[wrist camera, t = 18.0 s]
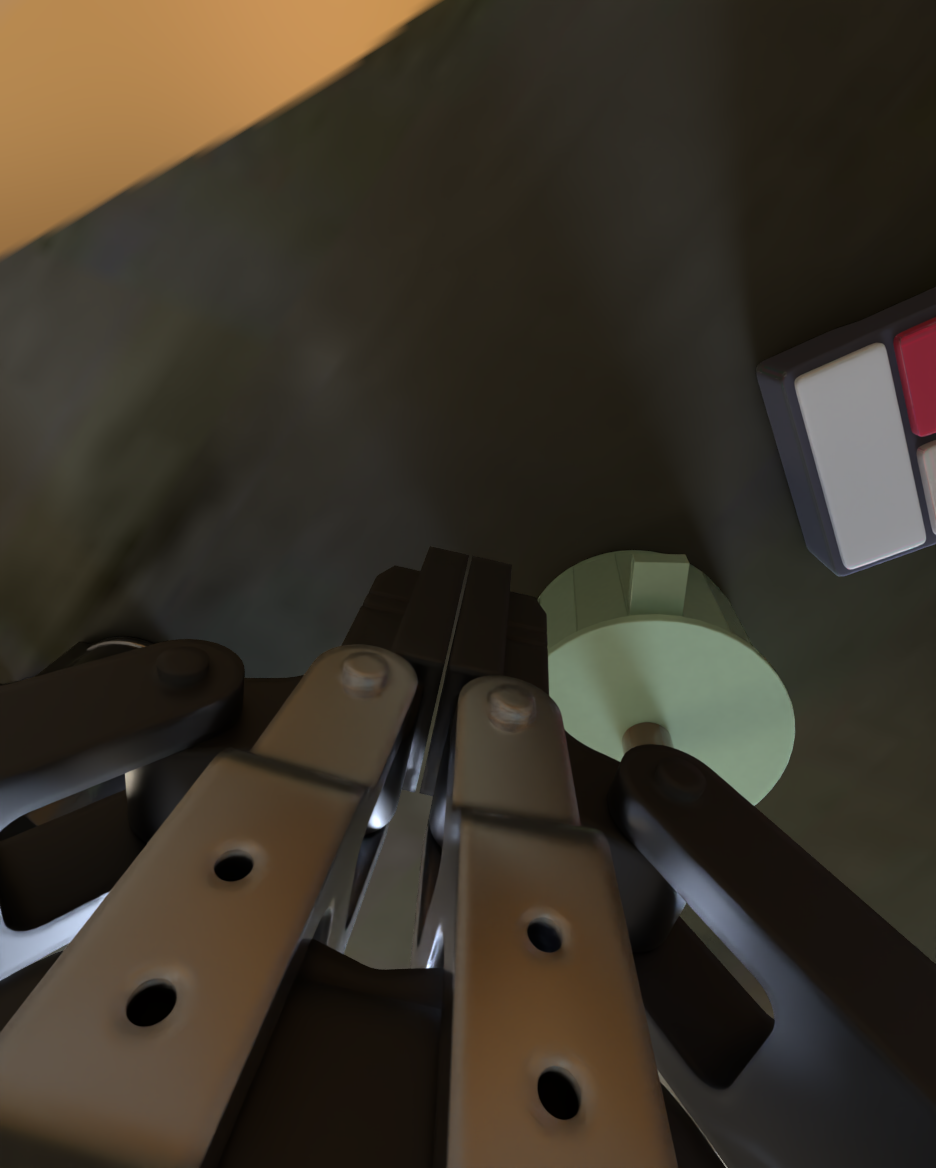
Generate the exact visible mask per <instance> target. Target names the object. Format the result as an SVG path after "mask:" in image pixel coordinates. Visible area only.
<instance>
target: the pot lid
mask: <svg viewBox="0 0 936 1168" xmlns="http://www.w3.org/2000/svg"><path fill="white" fill-rule="evenodd" d="M548 672H549V696H550V697H551V698H552V699H553V700H554V701H555V703H556V704H557V705H558V707H559V709H560V711H561V714H562V718H563V724H564V729H565V730H566V731H567V732H568V733H569V734H570V735H571V736H573V737H574V738H575V739H576V740H578V741H580V742H581V743H583V744H584V745H586V746H588V747H590V748H592V749H594V750H596V751H598V752H600V753H602V754H605V755H607V756H609V757H611V758H613V759H615V760H617V761H620V762H621V760H622V758H623V756H624V754H625V753H626V752H627V751H628V750H630V749H632V748H634V747H636V746H640V745H645V744H656V745H663V746H668V747H672V748H675V749H678V750H680V751H683V752H685V753H687V754H689V755H691V756H693V757H695V758H697V759H698V760H700V761H701V762H703V763H704V764H706V765H707V766H708V767H709V768H711V769H712V770H713V771H714V772H715V773H717V774H718V775H719V776H720V777H721V778H722V779H724V780H725V781H726V782H727V783H728V784H729V785H730V786H732V787H733V788H734V789H735V790H736V791H737V792H738V793H740V794H741V795H742V796H743V797H744V798H745V799H746V800H748V801H749V802H750V803H751V804H752V805H753V806H754V805H756V804H757V803H758V802H759V801H761V800H762V799H763V797H764V796H765V795H766V794H767V793H768V792H769V791H770V790H771V789H772V788H773V786H774V785H775V784H776V782H777V781H778V780H779V778H780V777H781V775H782V773H783V771H784V769H785V767H786V766H787V764H788V761H789V758H790V755H791V752H792V749H793V743H794V737H795V717H794V712H793V707H792V702H791V700H790V697H789V695H788V692H787V689H786V687H785V686H784V684H783V682H782V680H781V679H780V677H779V675H778V674H777V672H776V670H775V669H774V668H773V666H772V665H771V664H770V663H769V662H768V661H767V659H766V658H765V657H764V656H763V655H762V654H761V653H760V652H759V651H757V650H756V649H755V648H754V647H753V646H752V645H751V644H749V643H747V642H746V641H744V640H743V639H741V638H740V637H738V636H737V635H735V634H733V633H731V632H729V631H727V630H725V629H723V628H721V627H718V626H716V625H713V624H710V623H707V622H704V621H701V620H697V619H692V618H687V617H682V616H675V615H664V614H641V615H632V616H625V617H618V618H614V619H610V620H606V621H602V622H599V623H596V624H593V625H591V626H588V627H585V628H583V629H581V630H579V631H577V632H575V633H573V634H571V635H569V636H567V637H565V638H564V639H562V640H561V641H559V642H558V643H556V644H555V645H554V646H552V647H551V648H550V649H548Z"/></svg>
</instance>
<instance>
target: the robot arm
mask: <svg viewBox="0 0 936 1168" xmlns="http://www.w3.org/2000/svg"><path fill="white" fill-rule="evenodd" d="M468 558H469V555H466V554H462V553H458V552H453V551H449V550H444V549H440V548H436V547H431V546H430V547H429V550H428V553H427V555H426V558H425V561H424V563H423V566H422V569H421V571H417V570H413V569H408V568H404V567H399V566H394V567H392V568H390V569H388V570H386V571H385V572H383V573H381V574H379V575H378V576H377V577H376V579H375V581H374V583H373V585H372V587H371V589H370V591H369V594H368V595H367V597H366V598H365V600H364V602H363V606H361V608H360V610H359V612H358V614H357V616H356V618H355V620H354V622H353V624H352V626H351V628H350V630H349V632H348V634H347V636H346V638H345V640H344V642H343V643H342V645H341V646H339V647H336V648H332V649H330V650H328V651H326V652H324V653H322V654H321V655H320V656H318V657H317V658H316V660H315V661H314V662H313V663H312V665H311V666H310V668H309V669H308V670H307V672H306V673H305V675H302V676H297V677H290V678H244V677H245V669H244V665H243V662H242V660H241V659H240V658H239V656H238V655H237V654H236V653H234V652H233V651H232V650H230V649H228V648H227V647H225V646H222V645H220V644H217V643H213V642H209V641H204V640H195V639H179V640H170V641H165V642H160V643H156V644H153V643H151V642H148V641H145V640H142V639H138V638H133V637H122V636H121V637H110V638H106V639H103V640H100V641H98V642H96V643H94V644H89V643H85V642H78V643H77V644H76V645H74V646H73V647H72V648H71V649H69V650H68V651H67V652H66V653H64V654H63V655H62V656H60V657H59V658H58V659H57V660H55V661H54V662H53V663H51V664H50V665H49V666H48V667H46V668H45V669H44V670H43V671H41V672H40V673H39V674H37V675H36V676H35V677H33V678H29V679H25V680H22V681H18V682H14V683H11V684H7V685H0V980H1V981H0V1168H726V1167H725V1166H724V1164H723V1163H722V1161H721V1160H720V1158H719V1157H718V1156H717V1154H716V1153H715V1151H714V1150H713V1148H714V1149H715V1150H716V1152H717V1153H718V1155H719V1156H720V1157H721V1159H722V1160H723V1162H724V1163H725V1164H726V1166H727V1167H728V1168H936V964H935V963H934V962H933V961H931V960H930V959H929V958H928V957H927V956H926V955H924V954H923V953H922V952H921V951H920V950H919V949H918V948H916V947H915V946H914V945H913V944H912V943H911V942H910V941H908V940H907V939H906V938H905V937H904V936H903V935H902V934H900V933H899V932H898V931H897V930H896V929H895V928H893V927H892V926H891V925H890V924H889V923H888V922H887V921H885V920H884V919H883V918H882V917H881V916H880V915H879V914H877V913H876V912H875V911H874V910H873V909H872V908H871V907H869V906H868V905H867V904H866V903H865V902H864V901H862V900H861V899H860V898H859V897H858V896H857V895H856V894H854V893H853V892H852V891H851V890H850V889H849V888H848V887H846V886H845V885H844V884H843V883H842V882H841V881H840V880H838V879H837V878H836V877H835V876H834V875H833V874H831V873H830V872H829V871H828V870H827V869H826V868H825V867H823V866H822V865H821V864H820V863H819V862H818V861H817V860H815V859H814V858H813V857H812V856H811V855H810V854H809V853H807V852H806V851H805V850H804V849H803V848H802V847H800V846H799V845H798V844H797V843H796V842H795V841H794V840H792V839H791V838H790V837H789V836H788V835H787V834H786V833H784V832H783V831H782V830H781V829H780V828H779V827H777V826H776V825H775V824H774V823H773V822H772V821H771V820H769V819H768V818H767V817H766V816H765V815H764V814H763V813H761V812H760V811H759V810H758V809H757V808H756V807H755V806H753V805H752V804H751V803H750V802H749V801H748V800H746V799H745V798H744V797H743V796H742V795H741V794H740V793H738V792H737V791H736V790H735V789H734V788H733V787H732V786H730V785H729V784H728V783H727V782H726V781H725V780H724V779H722V778H721V777H720V776H719V775H718V774H717V773H715V772H714V771H713V770H712V769H711V768H709V767H708V766H707V765H706V764H704V763H703V762H701V761H700V760H698V759H697V758H695V757H693V756H691V755H689V754H687V753H685V752H683V751H680V750H678V749H675V748H672V747H668V746H663V745H656V744H645V745H640V746H636V747H634V748H632V749H630V750H628V751H627V752H626V753H625V754H624V756H623V758H622V760H621V762H620V761H617V760H615V759H613V758H611V757H609V756H607V755H605V754H602V753H600V752H598V751H596V750H594V749H592V748H590V747H588V746H586V745H584V744H583V743H581V742H580V741H578V740H576V739H575V738H574V737H573V736H571V735H570V734H569V733H568V732H567V731H566V730H565V729H564V724H563V718H562V714H561V711H560V709H559V707H558V705H557V704H556V703H555V701H554V700H553V699H552V698H551V697H550V696H549V672H548V648H547V645H548V641H547V614H546V612H545V611H544V610H543V608H542V607H541V605H540V604H539V603H538V601H537V600H536V598H535V597H532V596H528V595H523V594H519V593H514V592H510V582H511V569H512V565H511V564H506V563H502V562H498V561H493V560H489V559H484V558H480V557H476V556H473V557H472V561H471V565H470V569H469V574H468V578H467V582H466V587H465V591H464V595H463V600H462V604H461V609H460V613H459V617H458V622H457V626H456V630H455V635H454V639H453V644H452V648H451V652H450V657H449V661H448V666H447V670H446V675H445V680H444V684H443V689H442V693H441V698H440V702H439V707H438V711H437V716H436V720H435V725H434V730H433V734H432V739H431V743H430V748H429V752H428V757H427V761H426V766H425V771H424V775H423V780H422V784H421V789H420V793H421V794H426V795H430V796H433V800H432V805H431V810H430V815H429V820H428V824H427V828H426V832H425V836H424V840H423V845H422V855H421V865H420V875H419V884H418V894H417V904H416V913H415V923H414V933H413V943H412V952H411V962H410V969H392V970H379V969H374V968H370V967H368V966H365V965H363V964H361V963H359V962H357V961H355V960H353V959H352V958H350V957H348V956H346V955H344V951H345V948H346V945H347V942H348V939H349V937H350V934H351V931H352V928H353V926H354V923H355V920H356V917H357V915H358V912H359V909H360V906H361V904H362V901H363V898H364V895H365V892H366V890H367V887H368V884H369V881H370V879H371V876H372V873H373V870H374V868H375V865H376V862H377V859H378V856H379V854H380V851H381V848H382V845H383V843H384V840H385V837H386V833H387V829H388V824H389V821H390V820H391V818H392V817H393V815H394V814H395V811H396V808H397V805H398V801H399V797H400V793H401V789H402V790H407V791H411V792H415V790H416V786H417V782H418V777H419V773H420V768H421V764H422V760H423V755H424V751H425V747H426V742H427V738H428V733H429V729H430V725H431V720H432V716H433V712H434V707H435V703H436V698H437V694H438V690H439V685H440V681H441V677H442V672H443V668H444V664H445V659H446V655H447V650H448V646H449V642H450V637H451V633H452V628H453V624H454V620H455V615H456V611H457V606H458V602H459V597H460V593H461V589H462V584H463V580H464V575H465V571H466V567H467V562H468ZM686 903H688V904H689V906H690V907H691V908H692V909H693V910H694V911H695V912H696V913H697V914H698V915H699V916H700V918H701V919H702V920H703V921H704V922H705V923H706V924H707V925H708V926H709V927H710V929H711V930H712V931H713V932H714V933H715V934H716V935H717V936H718V937H719V938H720V939H721V941H722V942H723V943H724V944H725V945H726V946H727V947H728V948H729V949H730V950H731V951H732V953H733V954H734V955H735V956H736V957H737V958H738V959H739V960H740V961H741V962H742V963H743V965H744V966H745V967H746V968H747V969H748V970H749V971H750V972H751V973H752V974H753V976H754V977H755V978H756V979H757V980H758V981H759V983H760V984H761V986H762V987H763V988H764V990H765V992H766V994H767V995H768V997H769V1000H770V1002H771V1005H772V1008H773V1011H774V1018H775V1020H774V1019H773V1018H771V1017H770V1016H769V1015H768V1014H766V1013H765V1011H764V1010H763V1009H762V1008H761V1007H760V1006H759V1005H758V1004H757V1003H756V1002H755V1001H754V999H753V998H752V997H751V996H750V995H749V994H748V993H747V992H746V990H745V989H744V988H743V987H742V986H741V985H740V984H739V983H738V981H737V980H736V979H735V978H734V977H733V976H732V975H731V974H730V972H729V971H728V970H727V969H726V968H725V967H724V966H723V965H722V963H721V962H720V961H719V960H718V959H717V958H716V957H715V956H714V954H713V953H712V952H711V951H710V950H709V949H708V948H707V947H706V945H705V944H704V943H703V942H702V941H701V940H700V939H699V938H698V936H697V935H696V934H695V933H694V932H693V931H692V930H691V929H690V927H689V926H688V925H687V924H686V923H685V922H684V921H683V920H682V918H681V917H680V916H679V915H680V913H681V911H682V910H683V908H684V906H685V904H686ZM69 942H70V943H69ZM68 943H69V945H68V946H67V947H66V949H65V950H64V951H61V952H58V953H55V954H53V955H51V956H48V957H46V958H44V959H42V960H40V961H38V962H35V961H37V960H39V959H40V958H42V957H44V956H46V955H48V954H49V953H51V952H53V951H55V950H57V949H59V948H60V947H62V946H64V945H66V944H68ZM33 962H35V963H33ZM31 963H33V964H31ZM29 964H31V965H29ZM28 965H29V966H28ZM26 966H27V967H26ZM24 967H25V968H24ZM20 969H21V970H20ZM18 970H19V971H18ZM9 975H10V976H9ZM658 1071H659V1073H660V1074H661V1075H662V1077H663V1078H664V1080H665V1081H666V1082H667V1084H668V1085H669V1086H670V1088H671V1089H672V1091H673V1092H674V1093H675V1095H676V1096H677V1098H678V1099H679V1100H680V1102H681V1103H682V1105H683V1106H684V1107H685V1109H686V1110H687V1112H688V1113H689V1114H690V1116H691V1117H692V1118H693V1120H694V1121H695V1123H696V1124H697V1125H698V1127H699V1128H700V1129H699V1128H698V1127H697V1125H696V1124H695V1123H694V1121H693V1120H692V1118H691V1117H690V1116H689V1114H688V1113H687V1112H686V1111H685V1110H684V1108H683V1107H682V1106H681V1105H680V1104H679V1102H678V1101H677V1100H676V1099H675V1098H674V1096H673V1095H672V1094H671V1093H670V1092H669V1090H668V1089H667V1088H666V1087H665V1086H664V1085H663V1084H662V1083H661V1082H660V1080H659V1075H658ZM700 1130H701V1131H702V1132H703V1134H704V1135H705V1136H704V1135H703V1134H702V1132H701V1131H700ZM705 1137H706V1138H707V1139H708V1141H709V1142H710V1143H711V1145H712V1146H713V1148H712V1147H711V1145H710V1144H709V1142H708V1141H707V1139H706V1138H705Z"/></svg>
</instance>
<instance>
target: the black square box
mask: <svg viewBox="0 0 936 1168" xmlns="http://www.w3.org/2000/svg"><path fill="white" fill-rule="evenodd" d="M756 376H757V379H758V383H759V386H760V390H761V393H762V397H763V400H764V403H765V407H766V410H767V414H768V417H769V420H770V424H771V427H772V431H773V434H774V437H775V441H776V444H777V448H778V451H779V455H780V458H781V461H782V465H783V468H784V472H785V475H786V478H787V482H788V485H789V489H790V492H791V495H792V499H793V502H794V506H795V509H796V513H797V516H798V519H799V523H800V526H801V530H802V533H803V536H804V540H805V543H806V546H807V548H808V550H809V551H810V552H811V553H812V554H813V555H815V556H816V557H817V558H818V559H819V560H820V561H821V562H822V563H823V564H824V565H826V566H827V567H828V568H829V569H830V570H831V571H832V572H833V573H835V574H836V575H838V576H846V575H849V574H852V573H855V572H858V571H860V570H863V569H866V568H869V567H872V566H874V565H877V564H880V563H883V562H886V561H888V560H891V559H894V558H897V557H900V556H902V555H905V554H908V553H911V552H914V551H916V550H919V549H922V548H925V547H928V546H931V545H933V544H936V287H934V288H932V289H930V290H927V291H925V292H923V293H921V294H918V295H916V296H914V297H912V298H909V299H907V300H905V301H903V302H901V303H898V304H896V305H894V306H892V307H889V308H887V309H885V310H883V311H880V312H878V313H876V314H874V315H872V316H869V317H867V318H865V319H863V320H860V321H858V322H855V323H852V324H849V325H846V326H843V327H840V328H837V329H834V330H831V331H829V332H827V333H824V334H822V335H820V336H817V337H815V338H813V339H811V340H809V341H806V342H804V343H802V344H800V345H797V346H795V347H793V348H791V349H788V350H786V351H784V352H782V353H780V354H777V355H775V356H773V357H771V358H768V359H766V360H764V361H762V362H761V363H760V364H759V365H758V366H757V368H756Z"/></svg>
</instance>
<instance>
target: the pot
mask: <svg viewBox="0 0 936 1168" xmlns="http://www.w3.org/2000/svg"><path fill="white" fill-rule="evenodd" d="M537 601H538V603H539V604H540V605H541V607H542V608H543V610H544V611H545V612H546V614H547V641H548V645H547V648H548V649H550V648H551V647H552V646H554V645H555V644H556V643H558V642H559V641H561V640H562V639H564V638H565V637H567V636H569V635H571V634H573V633H575V632H577V631H579V630H581V629H583V628H585V627H588V626H591V625H593V624H596V623H599V622H602V621H606V620H610V619H614V618H618V617H625V616H632V615H641V614H664V615H675V616H682V617H687V618H692V619H697V620H701V621H704V622H707V623H710V624H713V625H716V626H718V627H721V628H723V629H725V630H727V631H729V632H731V633H733V634H735V635H737V636H738V637H740V638H741V639H743V640H744V641H746V642H747V643H749V644H751V645H752V643H751V641H750V639H749V637H748V636H747V634H746V632H745V630H744V628H743V626H742V624H741V622H740V620H739V619H738V617H737V615H736V613H735V611H734V609H733V607H732V605H731V604H730V602H729V600H728V598H727V597H726V596H725V595H724V594H723V593H722V592H721V590H720V589H719V588H718V587H717V586H716V584H715V583H714V582H713V581H712V580H711V579H710V578H709V577H707V576H706V575H705V574H704V573H703V572H702V571H700V570H699V569H697V568H696V567H694V566H693V565H691V564H690V563H689V561H688V559H687V557H686V555H685V554H662V553H657V552H652V551H642V550H625V551H616V552H610V553H605V554H601V555H598V556H594V557H591V558H589V559H587V560H584V561H582V562H579V563H578V564H576V565H574V566H572V567H571V568H569V569H567V570H566V571H564V572H563V573H562V574H560V575H559V576H558V577H556V578H555V579H554V580H553V581H552V582H551V583H550V584H549V585H548V586H547V587H546V588H545V590H544V591H543V592H542V594H541V595H540V596H539V598H538V599H537ZM752 646H753V645H752Z"/></svg>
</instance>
